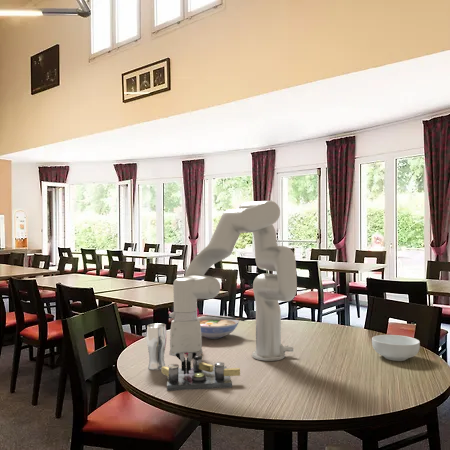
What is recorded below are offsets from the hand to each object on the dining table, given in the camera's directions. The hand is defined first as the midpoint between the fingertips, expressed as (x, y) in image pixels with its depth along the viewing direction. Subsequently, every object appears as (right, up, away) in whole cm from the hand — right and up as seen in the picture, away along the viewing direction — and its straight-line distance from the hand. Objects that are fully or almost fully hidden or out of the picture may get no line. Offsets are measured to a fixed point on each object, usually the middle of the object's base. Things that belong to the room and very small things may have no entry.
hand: (186, 372), depth 146 cm
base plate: (+4, -3, 0) cm, 5 cm away
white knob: (-5, -1, -2) cm, 6 cm away
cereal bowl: (+77, -2, +24) cm, 80 cm away
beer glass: (-12, -3, +14) cm, 18 cm away
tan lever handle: (+5, -1, +4) cm, 6 cm away
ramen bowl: (+8, -3, +57) cm, 58 cm away
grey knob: (+13, -1, -3) cm, 13 cm away
